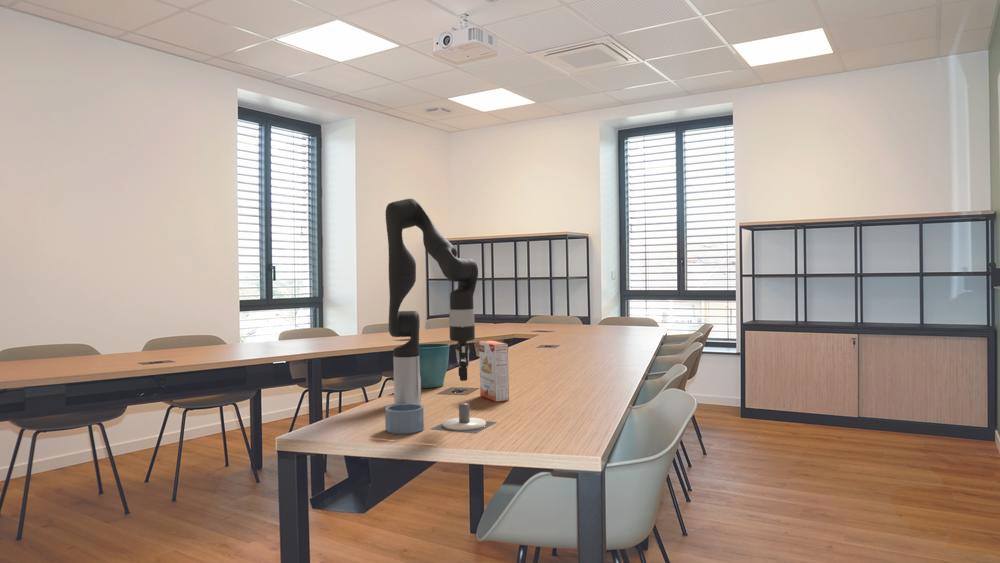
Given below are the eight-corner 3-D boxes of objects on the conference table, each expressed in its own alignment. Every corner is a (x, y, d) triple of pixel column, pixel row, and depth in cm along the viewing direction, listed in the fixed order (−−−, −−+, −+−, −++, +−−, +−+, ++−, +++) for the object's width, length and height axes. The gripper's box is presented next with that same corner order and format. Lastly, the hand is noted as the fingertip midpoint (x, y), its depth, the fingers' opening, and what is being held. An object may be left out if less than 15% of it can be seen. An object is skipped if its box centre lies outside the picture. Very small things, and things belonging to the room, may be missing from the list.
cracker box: (479, 396, 243) (478, 340, 243) (493, 394, 246) (492, 340, 246) (494, 402, 231) (493, 344, 230) (509, 401, 233) (508, 343, 233)
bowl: (399, 425, 197) (398, 402, 197) (430, 428, 192) (430, 405, 192) (378, 434, 187) (378, 409, 187) (411, 437, 182) (410, 412, 182)
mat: (453, 419, 204) (453, 418, 204) (497, 423, 198) (497, 422, 198) (430, 430, 190) (430, 429, 190) (475, 434, 184) (475, 433, 184)
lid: (455, 419, 202) (454, 398, 202) (492, 422, 197) (492, 401, 197) (434, 428, 190) (434, 406, 190) (474, 432, 185) (474, 409, 185)
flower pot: (398, 386, 268) (397, 345, 268) (433, 381, 280) (432, 342, 280) (423, 391, 255) (423, 348, 255) (459, 385, 267) (458, 344, 267)
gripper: (448, 323, 200) (449, 375, 200) (450, 326, 186) (451, 382, 186) (473, 322, 201) (473, 374, 201) (476, 325, 187) (477, 381, 187)
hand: (462, 378), depth 194 cm, fingers open, 8 cm apart
